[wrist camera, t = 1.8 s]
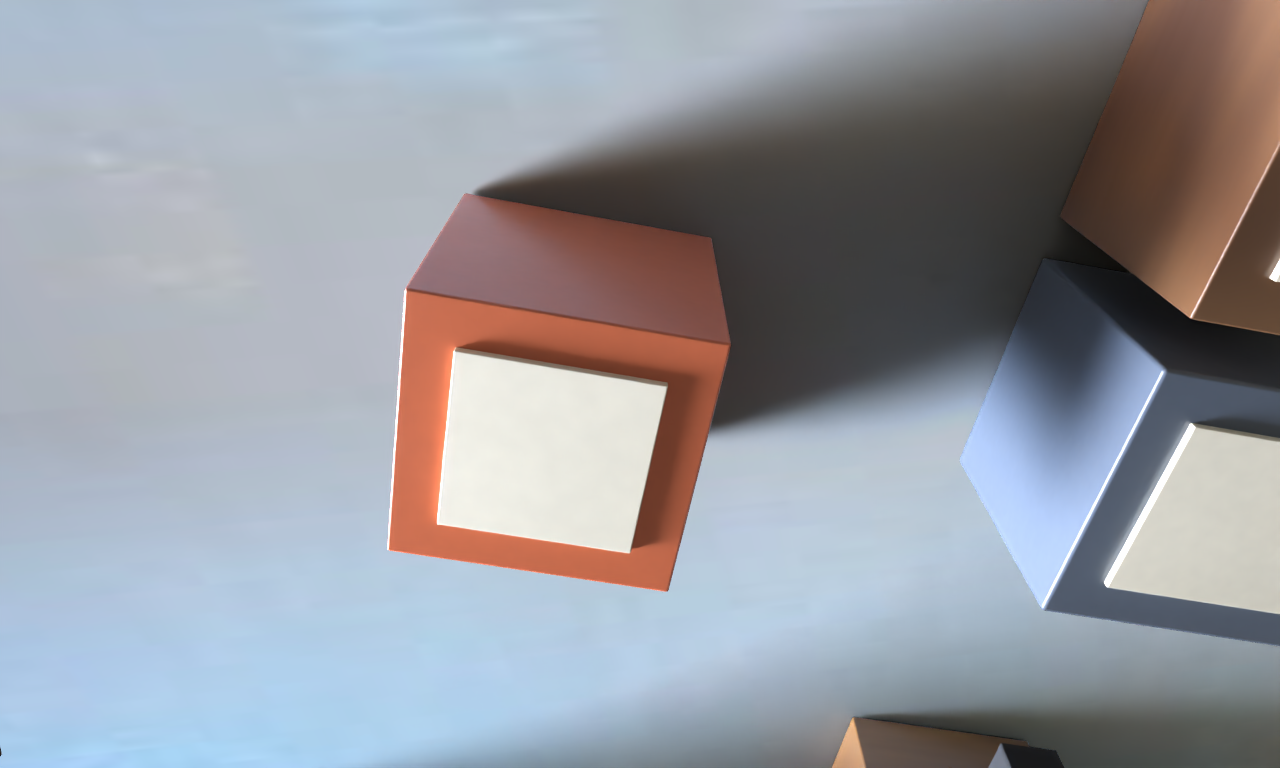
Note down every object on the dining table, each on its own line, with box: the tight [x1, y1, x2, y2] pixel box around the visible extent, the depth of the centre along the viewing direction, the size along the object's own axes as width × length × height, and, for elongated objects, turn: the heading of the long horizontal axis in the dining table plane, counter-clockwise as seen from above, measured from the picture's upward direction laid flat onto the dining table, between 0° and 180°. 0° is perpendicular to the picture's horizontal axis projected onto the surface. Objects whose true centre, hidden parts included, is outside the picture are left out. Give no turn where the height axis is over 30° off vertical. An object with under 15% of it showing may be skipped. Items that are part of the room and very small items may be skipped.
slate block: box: [960, 259, 1280, 646], centre depth 21 cm, size 6×6×6 cm
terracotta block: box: [387, 194, 731, 591], centre depth 20 cm, size 6×6×6 cm
